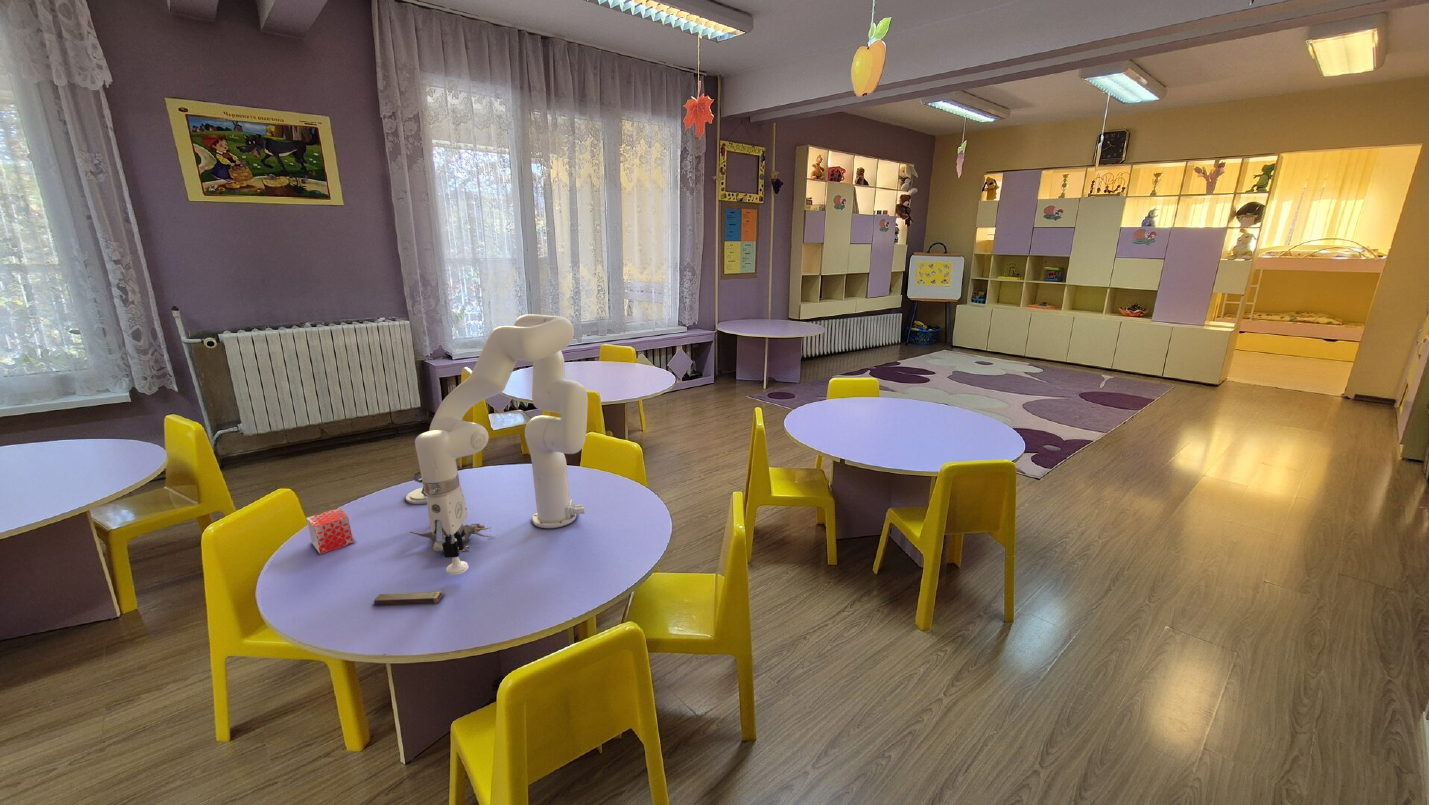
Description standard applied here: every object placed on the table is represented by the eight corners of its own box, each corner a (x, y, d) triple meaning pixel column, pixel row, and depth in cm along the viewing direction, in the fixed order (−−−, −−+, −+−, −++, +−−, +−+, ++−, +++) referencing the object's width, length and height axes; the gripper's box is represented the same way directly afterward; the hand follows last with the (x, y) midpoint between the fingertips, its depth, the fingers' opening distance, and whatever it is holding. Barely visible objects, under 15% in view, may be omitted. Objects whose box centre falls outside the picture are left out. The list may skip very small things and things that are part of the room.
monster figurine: (455, 489, 189) (451, 460, 186) (430, 505, 177) (425, 475, 174) (424, 486, 191) (419, 458, 188) (397, 502, 180) (392, 472, 177)
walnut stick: (442, 595, 132) (441, 591, 132) (437, 602, 130) (436, 597, 129) (380, 598, 131) (379, 593, 131) (374, 605, 129) (373, 600, 129)
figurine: (487, 507, 164) (495, 534, 149) (488, 526, 165) (496, 554, 151) (408, 519, 155) (409, 548, 140) (410, 539, 156) (411, 570, 142)
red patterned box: (353, 542, 156) (348, 516, 154) (320, 554, 150) (314, 527, 148) (344, 533, 161) (339, 507, 159) (312, 543, 156) (306, 517, 154)
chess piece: (454, 577, 134) (447, 540, 131) (442, 571, 137) (434, 534, 134) (472, 567, 138) (466, 530, 135) (460, 561, 141) (453, 525, 138)
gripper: (444, 499, 123) (457, 572, 129) (470, 468, 138) (481, 535, 144) (408, 500, 123) (424, 573, 129) (439, 470, 138) (451, 536, 144)
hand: (454, 552), depth 136 cm, fingers closed on chess piece
